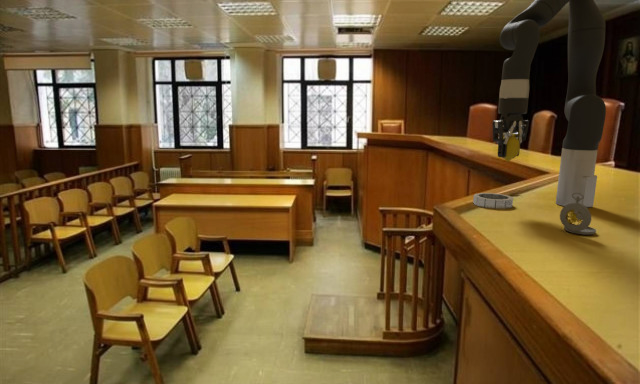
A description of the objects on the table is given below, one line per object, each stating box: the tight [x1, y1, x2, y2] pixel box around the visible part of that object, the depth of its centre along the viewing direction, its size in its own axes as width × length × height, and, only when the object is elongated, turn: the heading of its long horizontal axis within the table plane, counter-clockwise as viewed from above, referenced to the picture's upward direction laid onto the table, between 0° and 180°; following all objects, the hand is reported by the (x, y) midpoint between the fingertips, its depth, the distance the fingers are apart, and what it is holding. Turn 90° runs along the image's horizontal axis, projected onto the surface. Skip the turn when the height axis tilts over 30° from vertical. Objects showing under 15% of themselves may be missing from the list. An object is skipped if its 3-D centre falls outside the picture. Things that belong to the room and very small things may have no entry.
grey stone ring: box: [472, 192, 514, 210], centre depth 133 cm, size 11×11×2 cm
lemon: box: [503, 134, 521, 162], centre depth 125 cm, size 6×6×8 cm
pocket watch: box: [559, 193, 597, 236], centre depth 103 cm, size 8×8×10 cm
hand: (508, 156), depth 126 cm, fingers closed on lemon, 5 cm apart
